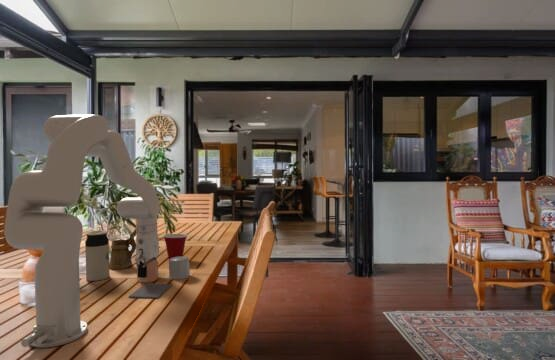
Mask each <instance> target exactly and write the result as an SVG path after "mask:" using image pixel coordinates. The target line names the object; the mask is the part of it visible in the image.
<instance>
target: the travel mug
mask: <svg viewBox="0 0 555 360" xmlns="http://www.w3.org/2000/svg"><path fill="white" fill-rule="evenodd" d="M107 234H108V230H104V229H101V230H91V231H88V232H87V231H86V233H85V235H86V239H85V241H84V243H85V244H84V245H85V246H84V247H85V249H84V251H85V279H86V280H87V281H89V282H98V281H103V280H105V279H108V278H109V277H110V269H109V264H110V250H109V249H110V246H109V245H110V244H109V243H110V242H109V238H108V235H107Z"/></svg>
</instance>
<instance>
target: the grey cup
mask: <svg viewBox="0 0 555 360" xmlns="http://www.w3.org/2000/svg"><path fill="white" fill-rule="evenodd" d="M168 270H169V271H168V272H169V273H168V274H169V275H168V277H169V279H171V280H183V279H187V278H188V277H189V276H190V274H191V272H190V259H189V257H187V256H184V255H183V256H180V257H173V258H171V259H170V261H169V260H168Z"/></svg>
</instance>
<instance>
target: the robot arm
mask: <svg viewBox="0 0 555 360" xmlns="http://www.w3.org/2000/svg"><path fill="white" fill-rule="evenodd" d="M109 123H110V122H109V121H108V120H107V118H105V117H104V116H102V115H100V114H94V113H93V114H91V113H89V114H87V113H85V114H66V115H65V114H63V115H62V114H61V115H54V116H50V117H49V118H47V120H46V121H44V125H43V133H44V135H45V137H46V139H47V140H48V141H49V142H50V145H49V148H48V150H47V153H46V159H45V163H44V168H43V170H27V171H25V172H23V173H21V174H19V175H18V176H17V177H16V178H15V179H14V181H13V182H12V184H11V186H10V190H9V195H8V202H7V208H6V212H5V215H6V216H5V221H4V229H3V231H4V233H3V234H4V238H5V240H6V243H7V244H8V245H9V246H10V247H12V248H13V249H14V248H15V249H18V250H28V251H29V250H30V251H42V252H41V254H40V257H39V258H38V260H37V262H36V264H35V267H34V271H33V272H34V273H33V274H34V275H33V276H34V297H35V325H34V326H33V331H32V332H31V334H29V335H27V336H26V337H24V338H22V340H21V341H20V344H21V347H23V348H27V347H28V346H29V347H30V346H32V347H34V348H40V349H41V348H43V349H44V348H45V349H46V348H54V347H60V346H62V345H65V344H69V343H71V342H73V341H75V340H78V339H79V338H81V337H83V335H85V334H86V333H87V332H88V326H89V325H88V323H87V322H86V321H84V320H81V288H80V284H81V283H80V249H81V243H82V238H83V233H84V232H83V229H84V227H83V223H82V222H81V220H80V219H79V218H78V217H77V216H76V215H74V214H71V213H66V212H60V211H59V212H57V211H56V212H55V211H54V212H52V211H49V212H48V211H47V212H46V211H44V212H43V210H44V208H68V207H71V206H74V205H75V204H77V202H79V199H80V196H81V192H82V183H83V175H84V168H85V160H86V157H89V158H91V157H92V158H93V157H95V158H99V160H100V162H101V164H102V166H103V167H102V168H104V171H105V173H106V175H107V178H108V180H109V181H110V182H112V183H114V184H116V185H118V186H120V187H123V188H125V189H128V190H129V191H132V192H134V193H136V194H137V195H138V196H136V197H131V196H130V197H129V196H128V197H127V196H126V197H124V198H122V199H121V200H119V202H118V203H117V205H116V213H117V215H119V216H120V217H122V218H124V219H135V229H136V233H137V234H136V241H135V242H136V249H135V254H136V256H135V258H134V261H135V264H136V268H137V267H138V277H139V278H146V277H147V267H145V266H146V262H147V260H150V259H157V260H158V255H159V254H160V243H159V240H160V239H159V233H158V215H159V213H160V208H161V207H160V205H161V204H160V201H159V198H158V194H157V192H156V189H155V187H154V186H153V185H152V183H151V182H150V181H149V180H147V178H145V177H144V176H143V175H142V174H141V173H139V172H137V170H135V167H134V164H133V161H132V160H131V159H132V158H131V157H130V154H129V151H128V148H127V146H126V145H127V144H126V143H125V140H124V138H123V136H122V134H121V133H119V132H118V131H116V130H113V129H112V130H111V129H110V125H109ZM142 261H144V262H142Z"/></svg>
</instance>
